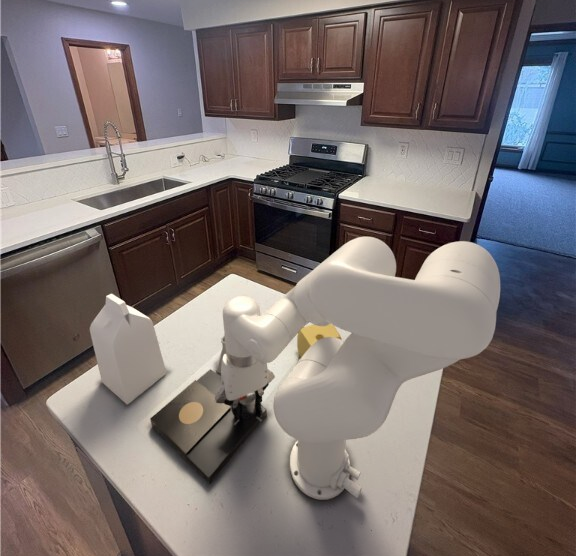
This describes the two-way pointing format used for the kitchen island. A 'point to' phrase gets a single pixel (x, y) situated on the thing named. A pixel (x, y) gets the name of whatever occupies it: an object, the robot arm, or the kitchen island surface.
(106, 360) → the milk
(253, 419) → the hob
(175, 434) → the burner
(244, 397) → the hob knob
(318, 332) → the cheese
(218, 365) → the flask
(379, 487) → the kitchen island surface
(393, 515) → the kitchen island surface
